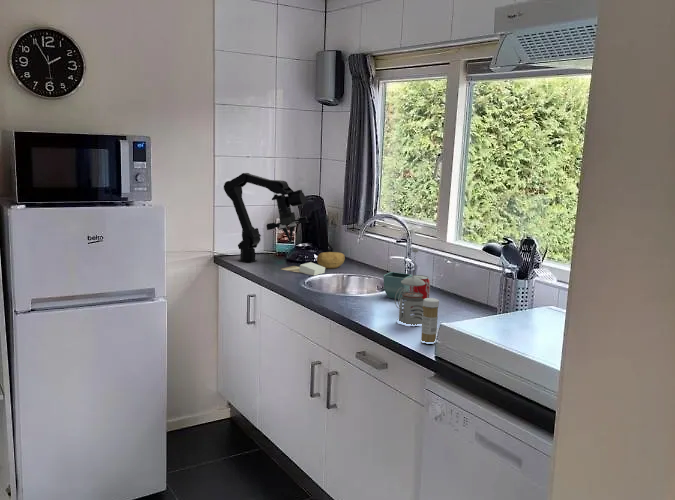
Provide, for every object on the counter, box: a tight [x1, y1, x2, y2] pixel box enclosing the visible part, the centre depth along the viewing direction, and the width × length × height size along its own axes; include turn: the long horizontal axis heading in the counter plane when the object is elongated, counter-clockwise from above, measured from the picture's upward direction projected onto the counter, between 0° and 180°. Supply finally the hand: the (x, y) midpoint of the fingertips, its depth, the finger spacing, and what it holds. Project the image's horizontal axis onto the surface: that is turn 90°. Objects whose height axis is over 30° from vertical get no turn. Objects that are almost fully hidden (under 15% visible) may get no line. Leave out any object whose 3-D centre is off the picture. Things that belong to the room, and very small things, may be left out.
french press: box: [394, 247, 426, 325], centre depth 204 cm, size 10×12×25 cm
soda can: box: [409, 274, 431, 308], centre depth 223 cm, size 7×7×12 cm
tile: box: [299, 261, 326, 276], centre depth 273 cm, size 3×8×8 cm
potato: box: [316, 251, 346, 270], centre depth 287 cm, size 10×14×8 cm
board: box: [281, 265, 305, 274], centre depth 279 cm, size 13×10×1 cm
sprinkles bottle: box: [420, 297, 440, 342], centre depth 185 cm, size 5×5×14 cm
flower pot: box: [382, 271, 413, 300], centre depth 239 cm, size 9×9×9 cm
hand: (290, 242), depth 286 cm, fingers closed
